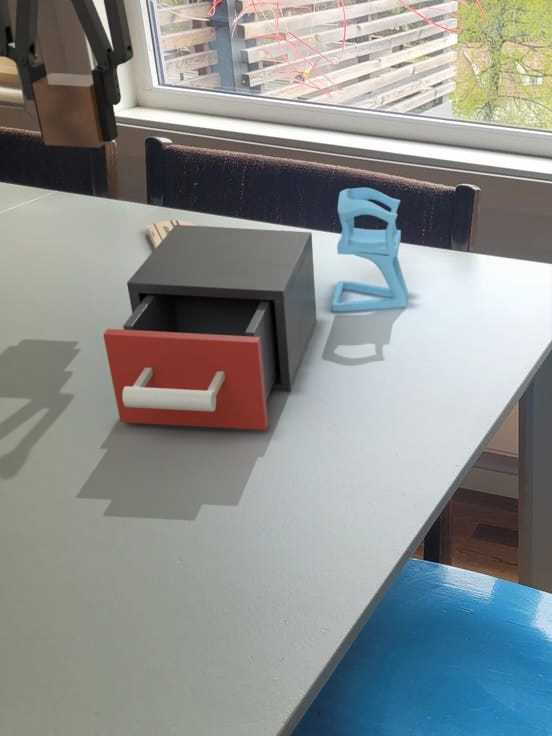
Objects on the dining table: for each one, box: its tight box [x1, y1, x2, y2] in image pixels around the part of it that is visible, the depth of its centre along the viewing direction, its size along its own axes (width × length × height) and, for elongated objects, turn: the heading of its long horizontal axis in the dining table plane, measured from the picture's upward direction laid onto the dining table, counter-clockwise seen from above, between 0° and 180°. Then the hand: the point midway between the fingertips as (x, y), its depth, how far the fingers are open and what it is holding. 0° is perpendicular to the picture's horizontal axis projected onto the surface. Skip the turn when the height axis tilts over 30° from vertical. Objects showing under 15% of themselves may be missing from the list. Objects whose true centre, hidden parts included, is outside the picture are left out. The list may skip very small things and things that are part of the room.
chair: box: [331, 187, 409, 312], centre depth 109 cm, size 8×8×12 cm
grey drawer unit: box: [126, 225, 317, 392], centre depth 97 cm, size 17×14×10 cm
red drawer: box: [103, 294, 280, 431], centre depth 87 cm, size 21×13×8 cm, turn 179°
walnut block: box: [33, 72, 107, 149], centre depth 102 cm, size 6×6×6 cm
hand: (80, 136), depth 104 cm, fingers closed on walnut block, 6 cm apart
